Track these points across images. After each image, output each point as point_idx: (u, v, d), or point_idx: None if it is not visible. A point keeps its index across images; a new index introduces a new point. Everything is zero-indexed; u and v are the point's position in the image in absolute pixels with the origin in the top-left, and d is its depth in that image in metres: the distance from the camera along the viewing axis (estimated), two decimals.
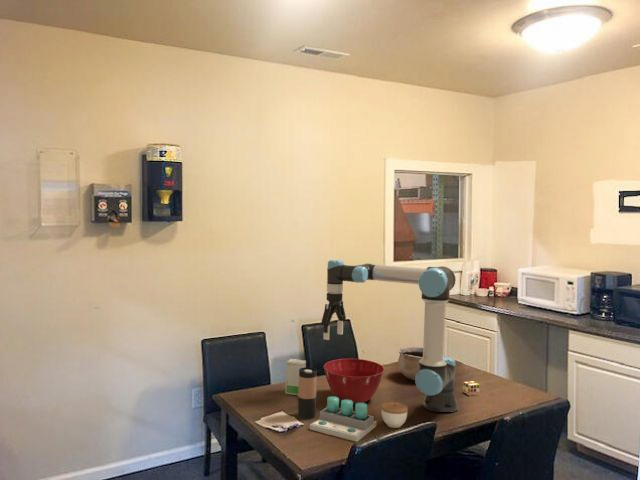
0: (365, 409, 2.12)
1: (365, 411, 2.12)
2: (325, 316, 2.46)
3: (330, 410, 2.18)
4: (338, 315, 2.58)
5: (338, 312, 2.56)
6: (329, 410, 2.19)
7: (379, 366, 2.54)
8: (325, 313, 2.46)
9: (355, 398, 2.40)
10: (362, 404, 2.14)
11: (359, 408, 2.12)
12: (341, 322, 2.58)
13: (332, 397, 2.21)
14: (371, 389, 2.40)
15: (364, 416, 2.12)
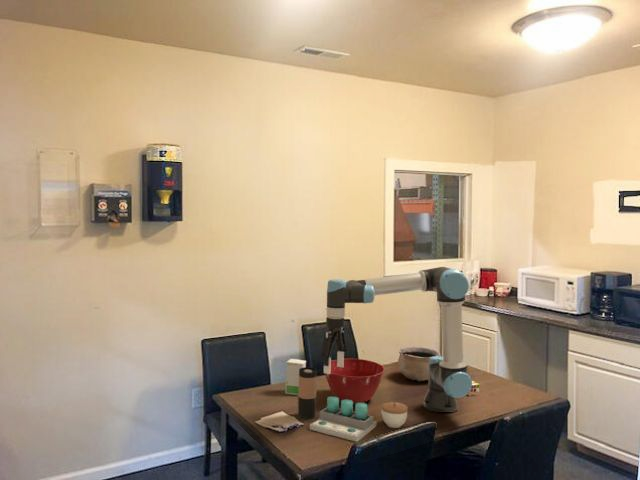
0: (365, 409, 2.12)
1: (365, 411, 2.12)
2: (326, 346, 2.12)
3: (330, 410, 2.18)
4: (338, 344, 2.23)
5: (339, 340, 2.22)
6: (329, 410, 2.19)
7: (379, 366, 2.54)
8: (325, 343, 2.13)
9: (355, 398, 2.40)
10: (362, 404, 2.14)
11: (359, 408, 2.12)
12: (342, 353, 2.24)
13: (332, 397, 2.21)
14: (371, 389, 2.40)
15: (364, 416, 2.12)
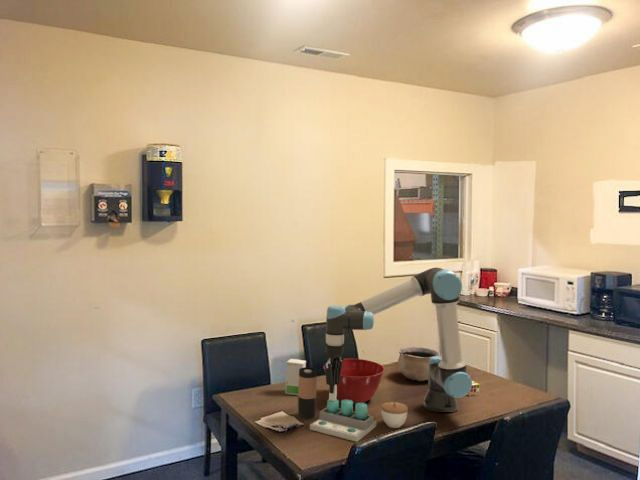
0: (365, 409, 2.12)
1: (365, 411, 2.12)
2: (329, 376, 2.16)
3: (330, 412, 2.18)
4: None
5: (335, 368, 2.20)
6: (329, 412, 2.19)
7: (379, 366, 2.54)
8: (327, 373, 2.16)
9: (355, 398, 2.40)
10: (362, 404, 2.14)
11: (359, 408, 2.12)
12: None
13: None
14: (371, 389, 2.40)
15: (364, 416, 2.12)
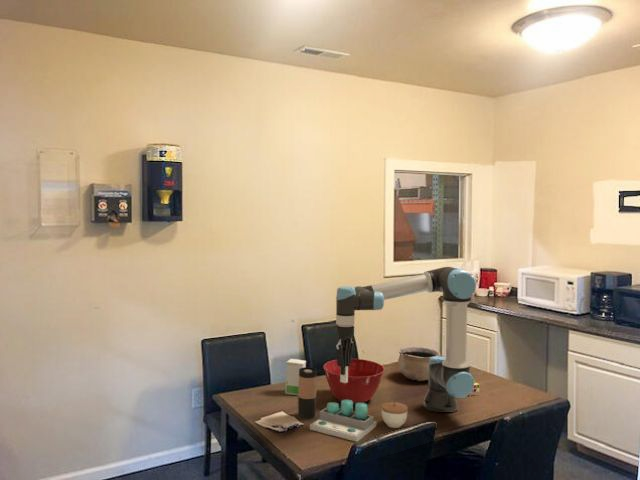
0: (365, 409, 2.12)
1: (365, 411, 2.12)
2: (339, 357, 2.13)
3: None
4: None
5: (346, 350, 2.18)
6: None
7: (379, 366, 2.54)
8: (338, 354, 2.13)
9: (355, 398, 2.40)
10: (362, 404, 2.14)
11: (359, 408, 2.12)
12: None
13: (332, 403, 2.22)
14: (371, 389, 2.40)
15: (364, 416, 2.12)
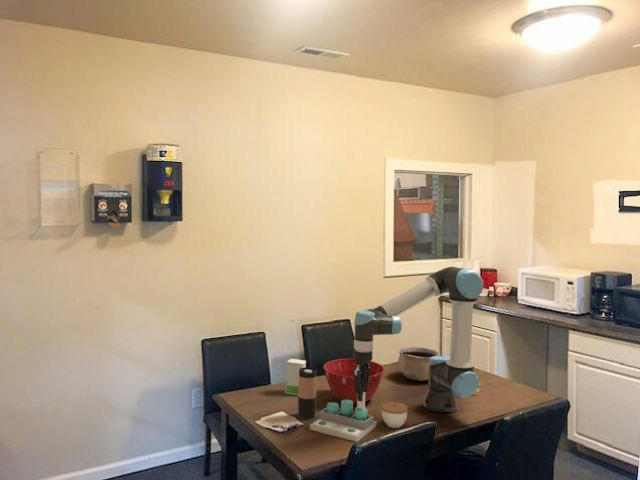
0: (365, 413, 2.12)
1: (365, 415, 2.12)
2: (357, 383, 2.09)
3: None
4: None
5: (364, 376, 2.14)
6: None
7: (379, 366, 2.54)
8: (356, 380, 2.09)
9: (355, 398, 2.40)
10: None
11: (359, 412, 2.12)
12: None
13: (332, 403, 2.22)
14: (371, 389, 2.40)
15: (364, 420, 2.12)
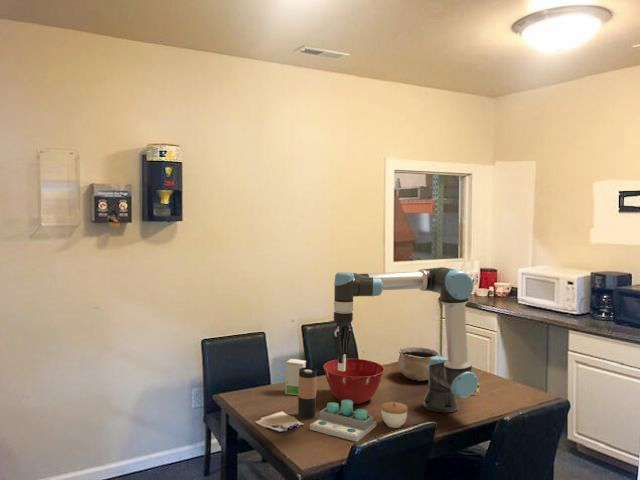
0: (365, 415, 2.12)
1: (365, 417, 2.12)
2: (337, 345, 2.07)
3: None
4: None
5: (344, 338, 2.11)
6: None
7: (379, 366, 2.54)
8: (336, 342, 2.07)
9: (355, 398, 2.40)
10: (362, 410, 2.14)
11: (359, 414, 2.12)
12: None
13: (332, 403, 2.22)
14: (371, 389, 2.40)
15: None
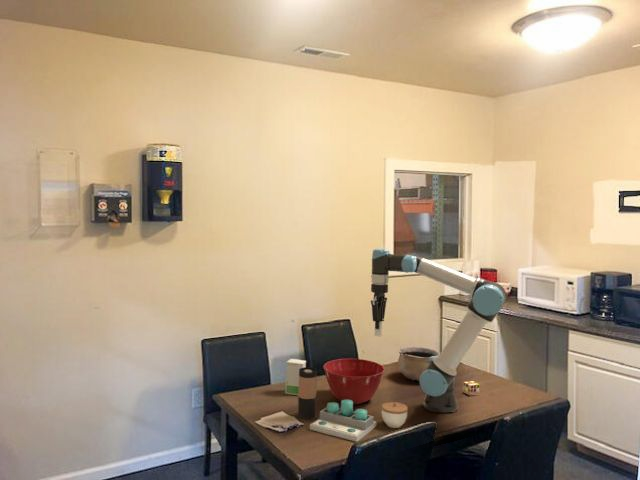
0: (365, 415, 2.12)
1: (365, 417, 2.12)
2: (375, 312, 2.34)
3: None
4: None
5: (380, 307, 2.39)
6: None
7: (379, 366, 2.54)
8: (374, 310, 2.34)
9: (355, 398, 2.40)
10: (362, 410, 2.14)
11: (359, 414, 2.12)
12: None
13: (332, 403, 2.22)
14: (371, 389, 2.40)
15: None
